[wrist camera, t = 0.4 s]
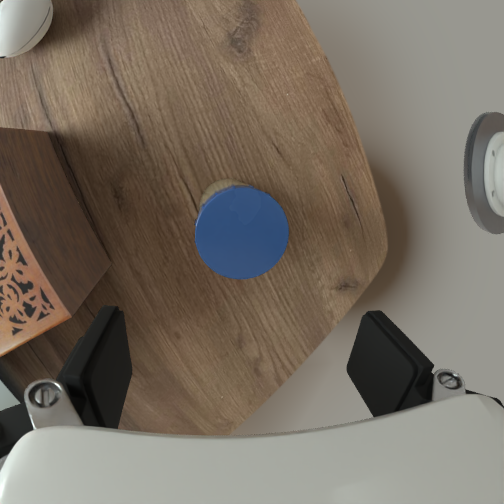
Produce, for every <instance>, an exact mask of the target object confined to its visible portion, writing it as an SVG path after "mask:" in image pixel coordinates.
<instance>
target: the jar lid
mask: <svg viewBox="0 0 504 504" xmlns="http://www.w3.org/2000/svg"><path fill="white" fill-rule="evenodd" d="M195 225H196V228H195V243H196V246H197V249H198V252H199V254H200V256H201V258H202V259H203V261H204V262H205V264H206V265H207V266H208V267H209V268H211V269H212V270H213V271H214V272H216V273H218V274H220V275H222V276H224V277H228V278H232V279H249V278H254V277H257V276H259V275H261V274H263V273H265V272H267V271H268V270H270V269H271V268H272V267H273V266H274V265H275V264H276V263H277V262H278V261H279V260H280V258H281V257H282V255H283V253H284V251H285V249H286V246H287V243H288V237H289V226H288V221H287V218H286V215H285V213H284V211H283V209H282V207H281V206H280V205H279V204H278V202H277V201H276V200H275V199H274V198H272V197H271V196H270V194H269V193H267V192H265V193H264V192H263V191H261V190H259V189H257V188H254V187H253V186H251V185H249V186H245V185H235V186H234V185H233V184H232V185H231V186H229V187H226V188H223V189H221V190H219V191H217V192H216V191H215V193H214V194H213V195H212V196H210V197H209V198H208V199H207V200H206V202H205V203H204V204H203V203H202V207H201V209H200V211H199V214H198V217H197V220H196V219H195Z"/></svg>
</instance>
